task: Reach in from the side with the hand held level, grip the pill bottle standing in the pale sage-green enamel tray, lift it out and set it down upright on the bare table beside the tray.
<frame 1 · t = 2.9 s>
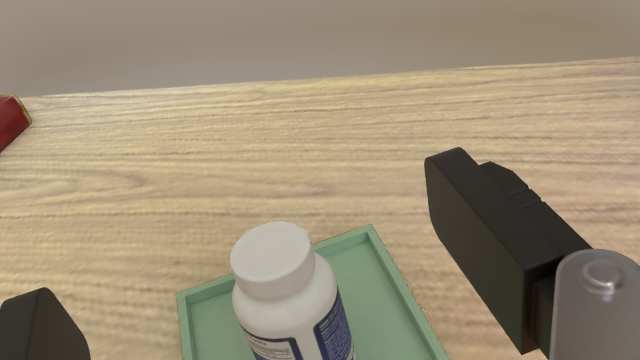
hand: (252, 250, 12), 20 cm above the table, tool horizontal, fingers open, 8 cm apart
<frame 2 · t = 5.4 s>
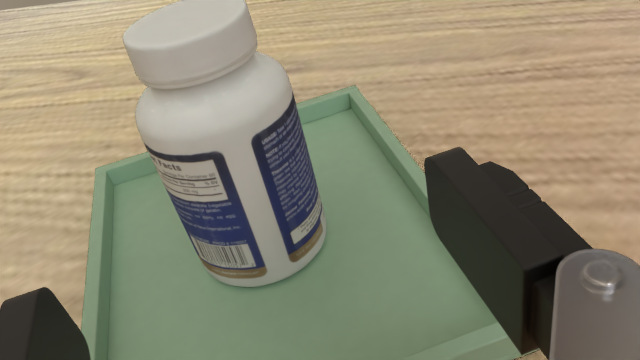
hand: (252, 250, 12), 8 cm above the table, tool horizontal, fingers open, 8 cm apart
pill bottle: (266, 245, 23), resting on tray
tray: (266, 247, 23), on the table
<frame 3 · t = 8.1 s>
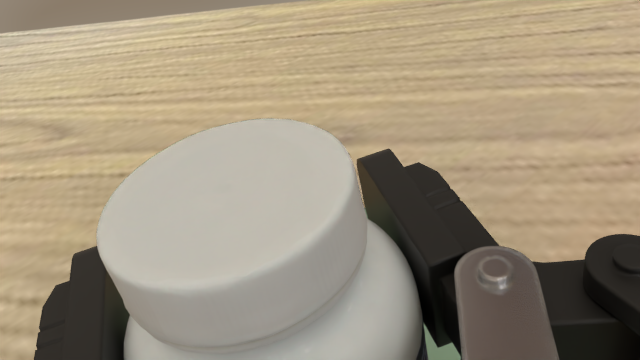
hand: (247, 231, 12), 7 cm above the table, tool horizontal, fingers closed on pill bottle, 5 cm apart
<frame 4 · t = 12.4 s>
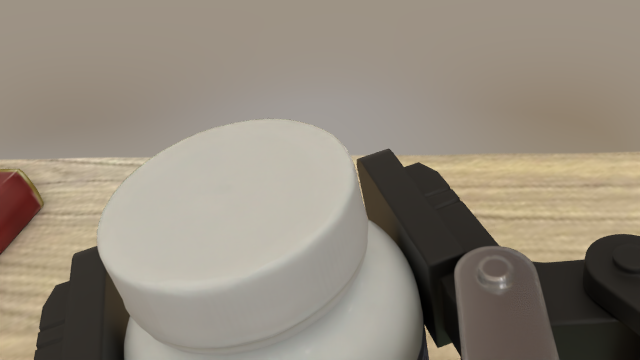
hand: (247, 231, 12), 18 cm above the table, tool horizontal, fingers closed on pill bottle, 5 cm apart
when the fingers open (7 cm above the table, at t = 16.6 s): pill bottle stays where it is, on the table.
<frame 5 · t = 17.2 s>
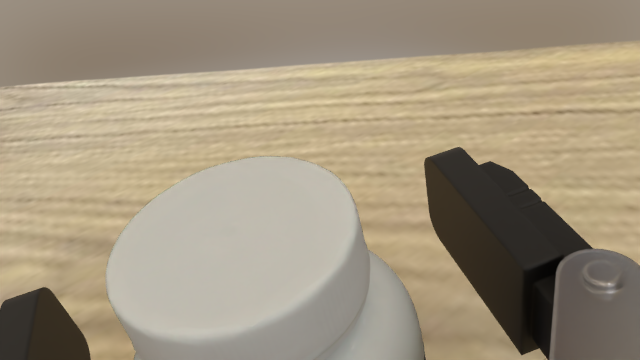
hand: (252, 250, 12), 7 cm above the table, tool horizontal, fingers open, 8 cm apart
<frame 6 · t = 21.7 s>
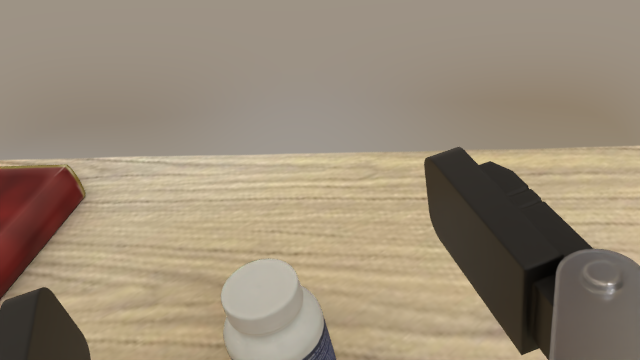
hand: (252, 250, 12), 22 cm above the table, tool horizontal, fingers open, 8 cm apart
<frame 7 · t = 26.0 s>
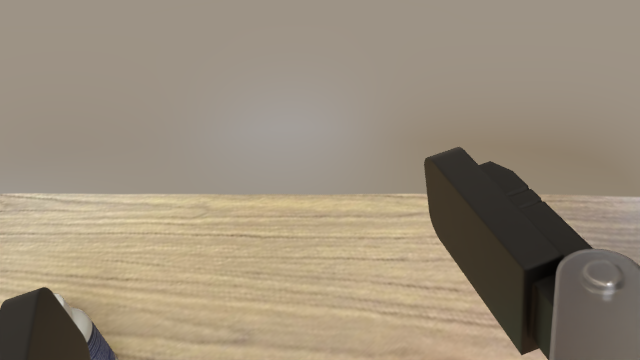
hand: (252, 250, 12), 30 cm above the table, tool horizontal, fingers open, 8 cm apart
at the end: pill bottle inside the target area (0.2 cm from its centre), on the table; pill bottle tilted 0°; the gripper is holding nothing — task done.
